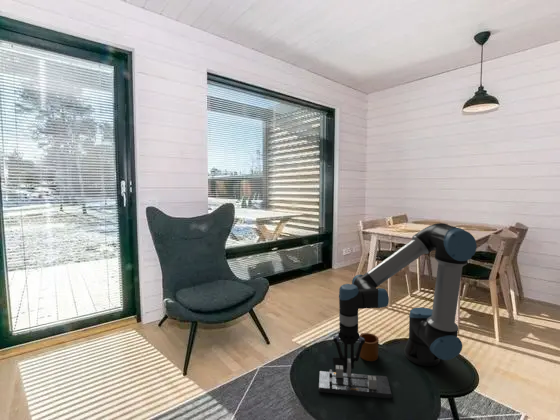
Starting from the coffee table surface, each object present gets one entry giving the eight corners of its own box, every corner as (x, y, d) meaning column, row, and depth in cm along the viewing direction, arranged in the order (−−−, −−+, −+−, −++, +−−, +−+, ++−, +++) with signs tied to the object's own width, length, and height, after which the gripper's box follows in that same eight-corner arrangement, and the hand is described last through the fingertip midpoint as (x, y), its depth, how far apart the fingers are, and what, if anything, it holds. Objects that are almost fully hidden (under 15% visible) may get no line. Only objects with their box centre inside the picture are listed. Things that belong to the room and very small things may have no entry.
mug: (372, 345, 154) (372, 329, 152) (380, 361, 142) (381, 343, 140) (354, 346, 153) (355, 329, 152) (361, 361, 141) (362, 343, 140)
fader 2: (375, 385, 123) (375, 375, 122) (376, 389, 120) (376, 380, 120) (367, 384, 123) (367, 375, 123) (368, 388, 121) (368, 379, 120)
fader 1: (342, 374, 130) (342, 365, 129) (343, 378, 127) (343, 369, 127) (335, 373, 130) (335, 364, 130) (335, 377, 128) (335, 368, 127)
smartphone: (336, 379, 130) (332, 357, 144) (336, 381, 130) (332, 359, 144) (354, 379, 129) (347, 357, 144) (354, 381, 129) (347, 358, 144)
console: (386, 380, 128) (387, 372, 128) (391, 398, 119) (391, 389, 118) (319, 375, 133) (319, 366, 132) (319, 391, 123) (318, 382, 123)
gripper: (364, 318, 127) (364, 370, 131) (332, 317, 130) (333, 367, 133) (366, 327, 120) (366, 382, 123) (332, 326, 122) (333, 379, 126)
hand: (349, 374), depth 128 cm, fingers closed
